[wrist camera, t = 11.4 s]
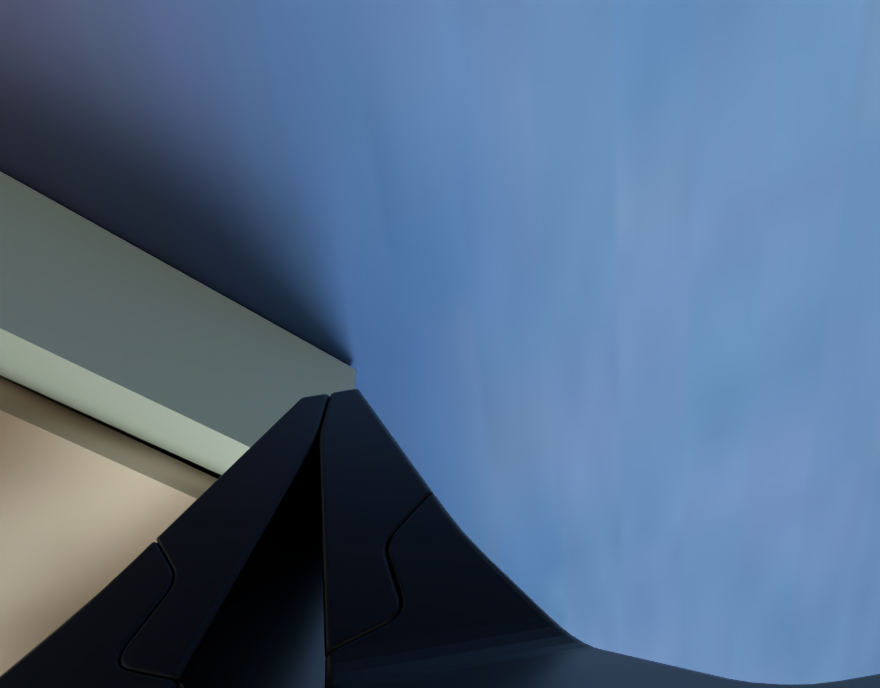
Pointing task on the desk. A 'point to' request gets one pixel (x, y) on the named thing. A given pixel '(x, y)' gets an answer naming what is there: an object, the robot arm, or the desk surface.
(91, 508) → the cabinet
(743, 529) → the desk surface
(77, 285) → the door
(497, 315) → the desk surface
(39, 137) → the desk surface
